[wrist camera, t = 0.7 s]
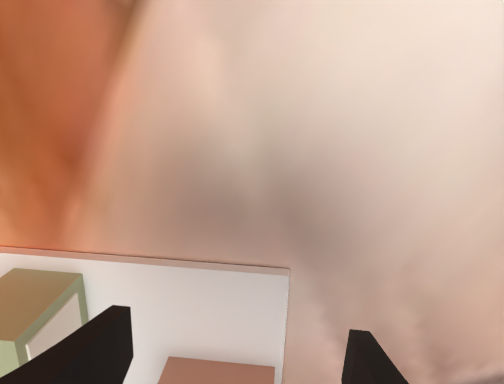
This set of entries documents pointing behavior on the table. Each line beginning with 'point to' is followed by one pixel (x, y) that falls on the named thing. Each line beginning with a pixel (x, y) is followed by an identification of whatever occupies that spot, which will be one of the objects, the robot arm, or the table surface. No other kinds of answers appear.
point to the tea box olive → (37, 313)
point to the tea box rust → (214, 372)
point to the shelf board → (179, 306)
